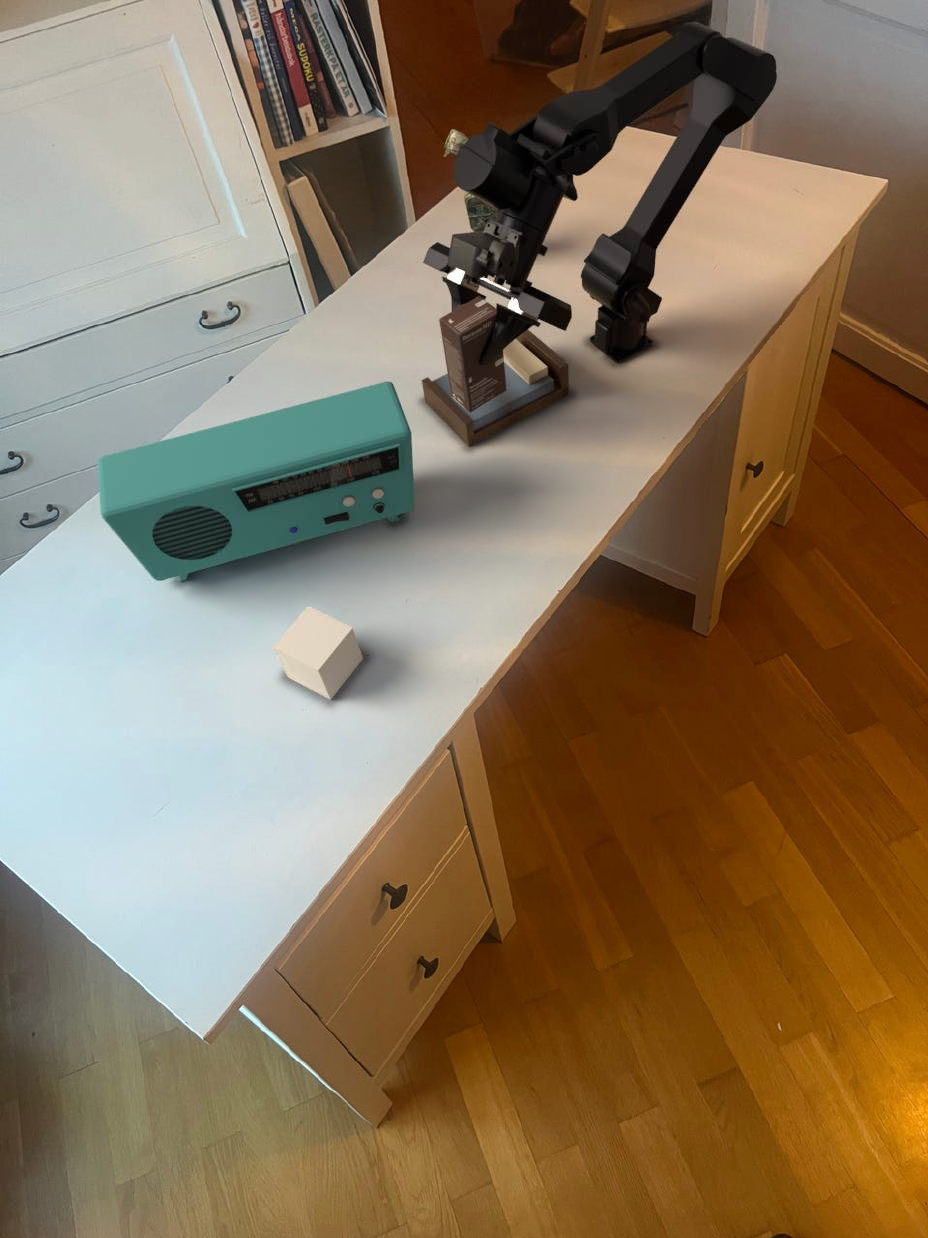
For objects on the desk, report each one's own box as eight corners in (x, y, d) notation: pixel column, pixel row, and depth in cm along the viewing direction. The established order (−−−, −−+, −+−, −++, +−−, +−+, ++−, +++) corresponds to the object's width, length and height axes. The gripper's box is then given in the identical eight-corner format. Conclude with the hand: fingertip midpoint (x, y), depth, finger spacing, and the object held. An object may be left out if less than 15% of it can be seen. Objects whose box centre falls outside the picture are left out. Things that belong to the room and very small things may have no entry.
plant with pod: (500, 280, 135) (491, 148, 118) (441, 259, 139) (424, 129, 123) (529, 252, 138) (525, 120, 122) (471, 233, 143) (459, 103, 126)
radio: (153, 606, 104) (98, 521, 92) (147, 542, 110) (95, 454, 98) (430, 528, 107) (413, 436, 95) (410, 470, 113) (391, 376, 101)
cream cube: (330, 700, 94) (317, 670, 90) (287, 677, 97) (272, 647, 92) (363, 658, 97) (352, 627, 92) (320, 636, 99) (307, 605, 94)
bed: (521, 353, 124) (520, 322, 120) (568, 394, 118) (568, 363, 114) (425, 402, 120) (420, 371, 116) (468, 447, 115) (465, 416, 110)
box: (472, 415, 108) (458, 334, 99) (450, 397, 111) (435, 316, 101) (510, 391, 110) (501, 309, 100) (488, 374, 112) (477, 292, 102)
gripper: (421, 174, 97) (369, 312, 102) (552, 229, 88) (487, 377, 94) (477, 207, 106) (427, 332, 111) (601, 260, 98) (539, 392, 103)
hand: (467, 356), depth 105 cm, fingers closed on box, 4 cm apart
